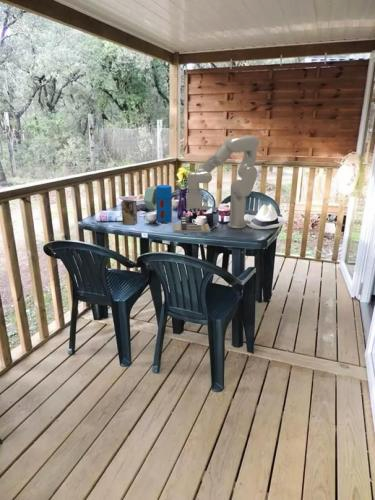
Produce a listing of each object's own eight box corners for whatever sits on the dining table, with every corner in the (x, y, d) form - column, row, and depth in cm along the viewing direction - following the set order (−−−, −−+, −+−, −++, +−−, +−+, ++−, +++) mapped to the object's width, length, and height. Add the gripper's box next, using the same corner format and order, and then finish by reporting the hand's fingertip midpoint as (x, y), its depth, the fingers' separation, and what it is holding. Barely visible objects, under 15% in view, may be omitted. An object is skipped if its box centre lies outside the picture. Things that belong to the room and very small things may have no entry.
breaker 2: (186, 228, 231) (186, 222, 230) (186, 229, 229) (186, 223, 228) (181, 228, 231) (181, 222, 230) (181, 229, 229) (182, 223, 228)
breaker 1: (185, 223, 243) (185, 217, 241) (185, 224, 240) (185, 218, 239) (181, 223, 242) (181, 217, 241) (181, 224, 240) (181, 218, 239)
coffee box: (137, 222, 249) (137, 200, 244) (134, 225, 243) (133, 202, 238) (125, 221, 251) (124, 199, 246) (122, 224, 245) (120, 201, 240)
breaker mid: (185, 225, 237) (185, 219, 236) (186, 226, 235) (186, 220, 233) (181, 225, 237) (181, 219, 235) (181, 226, 235) (181, 220, 233)
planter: (157, 214, 287) (149, 196, 272) (149, 213, 291) (140, 195, 275) (166, 200, 295) (159, 181, 280) (159, 199, 299) (150, 180, 284)
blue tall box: (169, 223, 248) (169, 188, 240) (155, 222, 250) (154, 187, 242) (173, 219, 258) (173, 185, 250) (159, 218, 260) (158, 184, 252)
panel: (207, 225, 245) (207, 222, 244) (210, 232, 230) (210, 229, 229) (173, 225, 244) (173, 223, 243) (173, 232, 229) (173, 230, 228)
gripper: (204, 189, 232) (205, 216, 239) (181, 190, 231) (183, 217, 238) (205, 191, 225) (206, 219, 232) (182, 193, 224) (183, 220, 231)
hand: (194, 218), depth 235 cm, fingers closed
